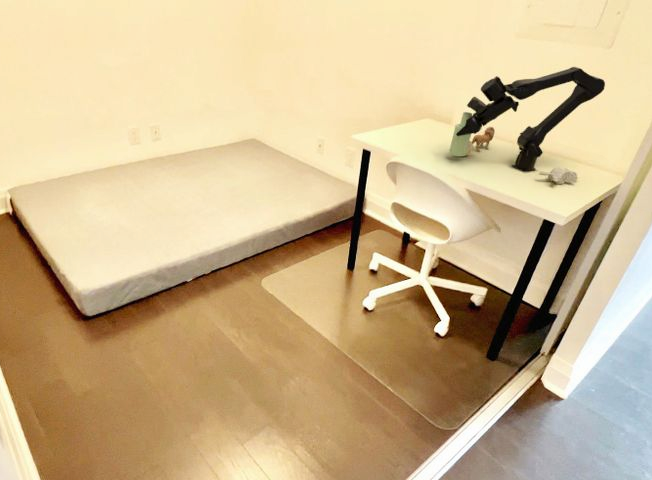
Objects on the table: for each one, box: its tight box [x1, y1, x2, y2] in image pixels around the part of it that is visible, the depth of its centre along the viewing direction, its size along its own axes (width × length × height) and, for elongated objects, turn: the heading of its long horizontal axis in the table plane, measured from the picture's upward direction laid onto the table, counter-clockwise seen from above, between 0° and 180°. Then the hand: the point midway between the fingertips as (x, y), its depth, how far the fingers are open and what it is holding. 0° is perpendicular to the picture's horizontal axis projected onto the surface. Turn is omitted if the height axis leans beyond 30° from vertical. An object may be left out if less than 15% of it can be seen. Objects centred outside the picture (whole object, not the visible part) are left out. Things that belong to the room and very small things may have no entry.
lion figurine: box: [471, 126, 496, 152], centre depth 190 cm, size 15×5×9 cm, turn 129°
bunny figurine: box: [538, 166, 579, 185], centre depth 162 cm, size 10×5×15 cm
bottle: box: [448, 111, 473, 157], centre depth 173 cm, size 7×7×16 cm
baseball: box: [464, 140, 474, 157], centre depth 183 cm, size 7×7×7 cm
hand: (459, 133), depth 174 cm, fingers closed on bottle, 7 cm apart
